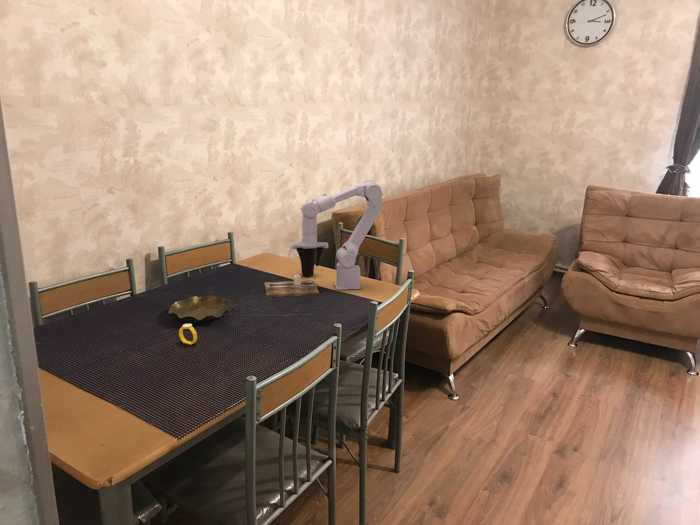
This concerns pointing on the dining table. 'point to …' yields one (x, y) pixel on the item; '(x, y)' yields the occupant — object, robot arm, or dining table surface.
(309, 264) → the drinking cup
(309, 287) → the console
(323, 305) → the dining table surface
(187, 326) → the gold ring
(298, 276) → the fader tab
